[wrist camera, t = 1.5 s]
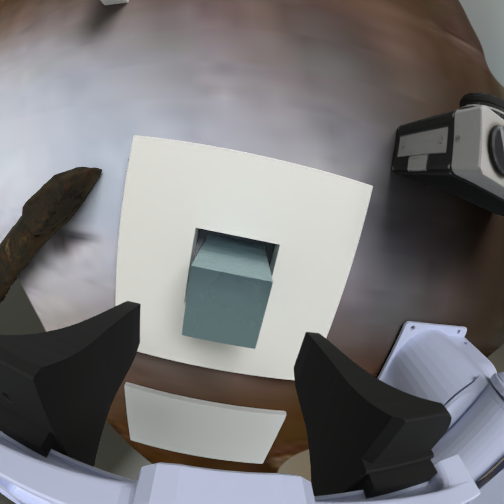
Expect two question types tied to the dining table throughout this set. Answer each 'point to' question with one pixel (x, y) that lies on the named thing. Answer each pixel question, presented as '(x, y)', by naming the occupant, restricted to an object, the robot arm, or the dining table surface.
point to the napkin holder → (113, 2)
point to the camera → (458, 151)
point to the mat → (200, 425)
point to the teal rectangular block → (227, 292)
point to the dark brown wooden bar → (43, 220)
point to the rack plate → (239, 224)
